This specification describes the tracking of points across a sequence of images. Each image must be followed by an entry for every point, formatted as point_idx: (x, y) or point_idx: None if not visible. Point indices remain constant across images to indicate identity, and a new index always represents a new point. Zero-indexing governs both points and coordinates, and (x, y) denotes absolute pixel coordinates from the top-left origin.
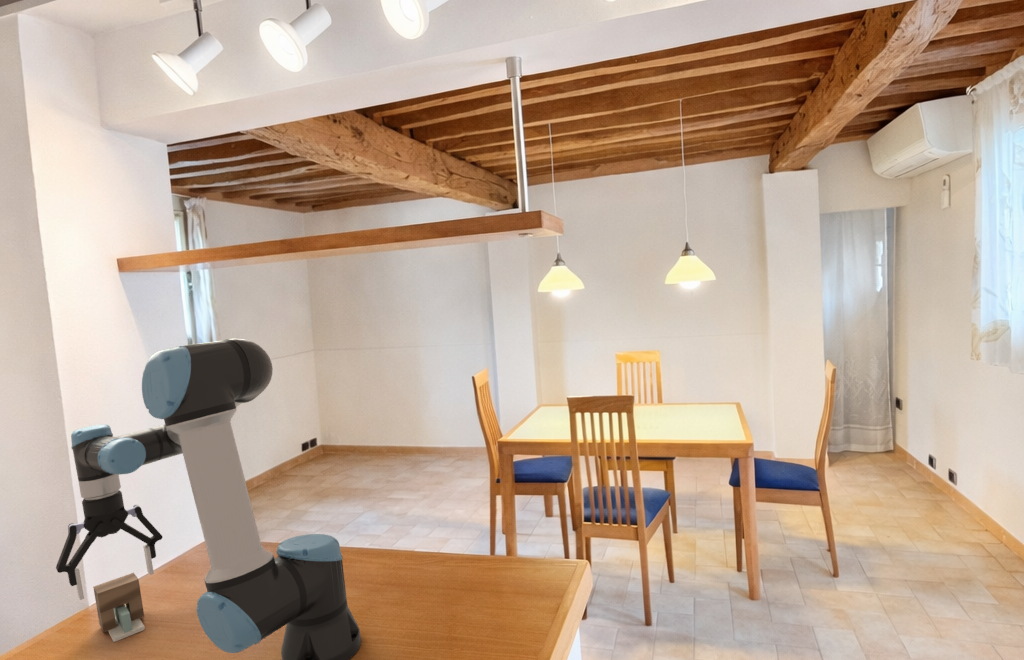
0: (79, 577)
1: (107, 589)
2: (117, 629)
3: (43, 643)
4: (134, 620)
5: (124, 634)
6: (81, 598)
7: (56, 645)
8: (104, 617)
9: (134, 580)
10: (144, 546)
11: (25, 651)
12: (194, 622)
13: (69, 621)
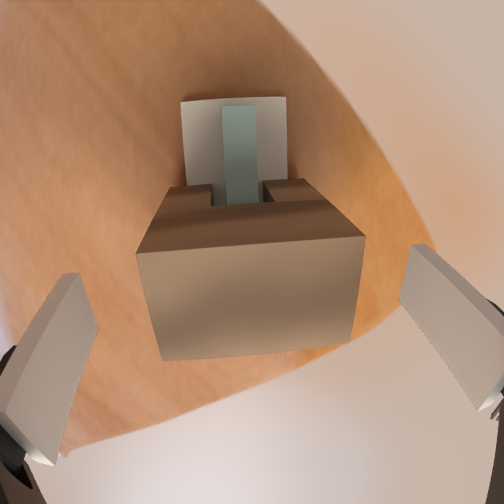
0: (489, 317)
1: (312, 249)
2: (262, 158)
3: None
4: (203, 181)
5: (248, 98)
6: (422, 247)
7: (401, 233)
8: (307, 193)
9: (157, 251)
10: (33, 445)
11: None
12: (51, 37)
13: (344, 344)
